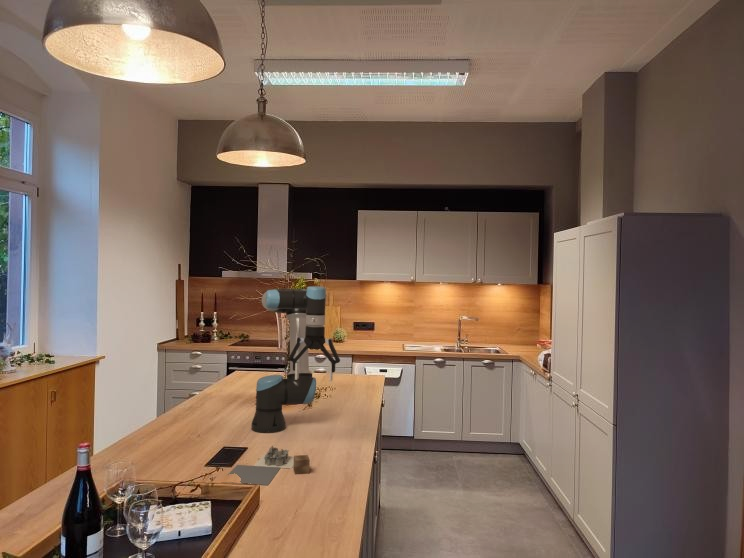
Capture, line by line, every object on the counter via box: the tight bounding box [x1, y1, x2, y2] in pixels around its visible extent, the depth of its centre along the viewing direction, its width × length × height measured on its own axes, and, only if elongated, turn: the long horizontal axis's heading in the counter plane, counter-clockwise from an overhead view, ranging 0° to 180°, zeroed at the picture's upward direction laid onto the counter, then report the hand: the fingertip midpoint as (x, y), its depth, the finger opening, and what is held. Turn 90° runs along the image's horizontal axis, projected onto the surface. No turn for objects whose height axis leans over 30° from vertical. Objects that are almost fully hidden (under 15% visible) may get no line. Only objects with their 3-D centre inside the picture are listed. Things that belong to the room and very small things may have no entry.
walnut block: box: [292, 454, 311, 476], centre depth 187 cm, size 5×5×5 cm
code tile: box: [253, 454, 294, 470], centre depth 196 cm, size 14×12×1 cm
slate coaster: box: [227, 464, 282, 486], centre depth 182 cm, size 16×16×1 cm
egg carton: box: [264, 445, 290, 466], centre depth 196 cm, size 11×8×4 cm
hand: (313, 379), depth 207 cm, fingers open, 13 cm apart
